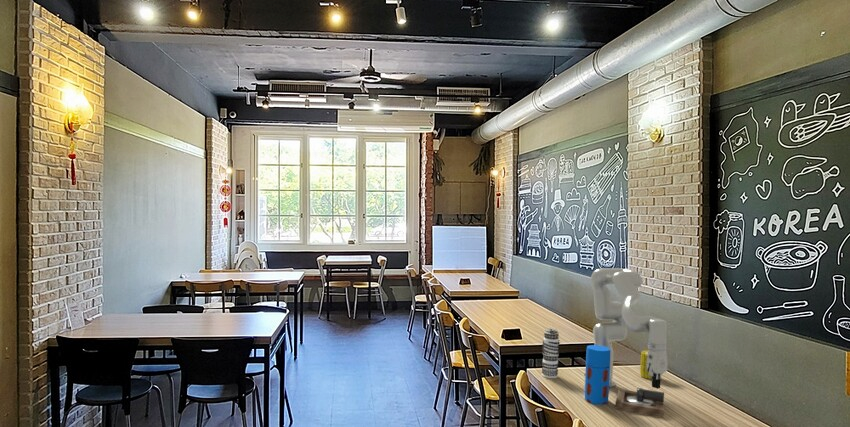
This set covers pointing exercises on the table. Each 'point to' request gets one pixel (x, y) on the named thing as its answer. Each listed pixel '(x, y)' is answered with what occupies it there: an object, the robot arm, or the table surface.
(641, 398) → the dial
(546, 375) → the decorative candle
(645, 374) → the food
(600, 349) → the thermos
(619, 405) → the wooden frame
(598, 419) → the table surface
